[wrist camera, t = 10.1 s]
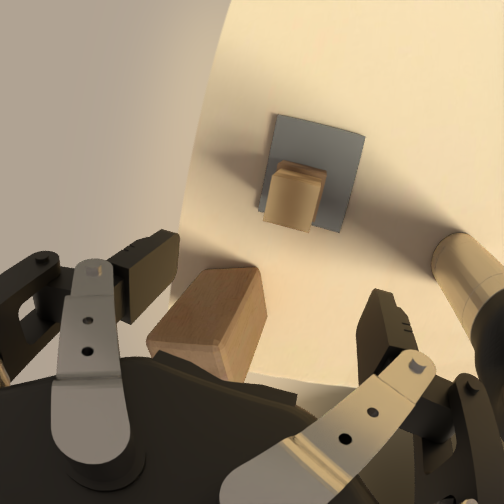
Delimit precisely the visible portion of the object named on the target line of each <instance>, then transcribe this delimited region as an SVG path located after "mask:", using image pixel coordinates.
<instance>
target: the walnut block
mask: <svg viewBox="0 0 504 504" xmlns="http://www.w3.org/2000/svg"><path fill="white" fill-rule="evenodd" d="M279 169H286V170H290V171H294V172H298V173H302V174H306V175H310V176H314V177H318V178H321V188H320V192H319V196H318V200H317V204H316V208H315V211H314V215H313V219H312V222H315V219H316V215H317V211H318V208H319V204H320V200H321V196H322V192H323V188H324V184H325V180H326V177H327V171H326V170H322V169H318V168H314V167H310V166H306V165H303V164H299V163H294V162H290V161H286V160H282V161H281V162H279V163H278V165H277V169H276V172H277V171H278V170H279Z"/></svg>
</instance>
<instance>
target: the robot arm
mask: <svg viewBox="0 0 504 504" xmlns="http://www.w3.org/2000/svg"><path fill="white" fill-rule="evenodd" d="M179 243H180V236H179V234H177V233H173V232H170V231H167V230H163V229H161V230H160V231H158V232H156V233H155V234H153V235H152V236H150V237H146V238H142V239H139V240H136V241H135V242H133V243H132V244H130V245H129V246H127V247H126V248H124V250H121V251H119V252H118V253H117V254H115V255H114V256H112V257H111V258H109V259H108V260H102V259H88V260H84V261H82V262H80V263H78V264H77V266H76V267H75V269H74V268H68V267H62V266H60V260H59V256H58V254H56V253H55V252H51V251H40V252H37V253H34V254H32V255H30V256H28V257H27V258H25V259H24V260H22V261H20V262H19V263H17V264H16V265H14V266H13V267H11V268H9V269H8V270H6V271H5V272H3V273H2V274H1V275H0V504H379V503H378V501H377V500H376V499H375V497H374V496H373V495H372V493H371V492H370V490H369V489H368V488H367V487H366V485H365V483H364V482H363V481H362V479H361V478H360V476H359V475H358V473H359V472H360V471H361V469H363V467H364V466H365V465H366V464H367V463H368V462H369V461H370V460H371V459H372V458H373V457H374V456H375V455H376V453H377V452H378V451H379V450H380V449H381V448H382V447H383V445H384V444H385V443H386V442H387V441H388V440H389V438H390V437H391V436H392V435H393V434H394V432H395V431H396V430H397V429H398V428H400V429H403V430H405V431H407V432H410V433H413V440H414V441H413V442H414V463H415V464H414V465H415V504H504V450H503V446H502V442H501V439H502V440H503V441H504V266H503V265H502V264H501V263H500V262H499V261H498V260H497V259H496V258H495V257H494V256H493V255H491V254H490V253H489V252H488V251H487V250H486V249H485V248H484V247H483V246H482V245H481V244H480V243H478V242H477V241H476V240H475V239H474V238H473V237H471V236H470V235H468V234H465V233H455V234H452V235H449V236H448V237H446V238H445V239H444V240H443V241H441V242H440V244H439V245H438V246H437V248H436V250H435V252H434V254H433V257H432V263H431V267H432V273H433V276H434V277H435V279H436V281H437V282H438V284H439V286H440V287H441V289H442V291H443V293H444V294H445V296H446V298H447V300H448V301H449V303H450V305H451V307H452V308H453V310H454V312H455V314H456V316H457V317H458V319H459V321H460V323H461V325H462V327H463V328H464V330H465V332H466V334H467V336H468V338H469V340H470V342H471V344H472V346H473V348H474V350H475V367H476V371H477V375H478V378H479V379H478V378H476V377H475V376H473V375H471V374H468V373H462V374H459V375H458V376H457V377H456V379H455V380H454V381H453V382H451V381H448V380H446V379H444V378H442V377H439V376H437V375H435V374H436V367H435V365H434V363H433V361H432V360H431V359H430V358H429V357H428V356H426V355H425V354H423V353H422V352H419V350H418V347H417V344H416V340H415V337H414V334H413V333H412V332H413V331H412V328H411V326H410V322H409V319H408V316H407V315H406V314H405V312H404V311H403V310H402V309H401V308H399V307H397V306H396V303H395V300H394V296H393V294H392V293H390V292H387V291H383V290H379V289H376V288H375V289H374V290H373V291H372V293H371V295H370V297H369V299H368V302H367V304H366V306H365V309H364V311H363V313H362V315H361V318H360V320H359V322H358V326H357V330H356V344H357V359H358V380H359V387H358V388H357V389H355V390H354V391H353V392H352V393H351V394H350V395H348V396H347V397H346V398H345V399H343V400H342V401H341V402H340V403H339V404H338V405H336V406H335V407H334V408H332V409H331V410H330V411H328V412H327V413H326V414H325V415H323V416H322V417H321V418H319V419H317V418H316V417H315V416H313V415H312V414H310V413H309V412H308V411H306V410H305V409H303V408H301V407H299V406H297V405H296V400H297V394H295V393H291V392H287V391H283V390H279V389H275V388H272V387H268V386H265V385H259V384H249V383H239V382H231V381H224V380H221V379H219V378H218V377H216V376H214V375H212V374H211V373H209V372H207V371H206V370H204V369H202V368H201V367H199V366H197V365H196V364H194V363H192V362H190V361H188V360H185V359H182V358H180V357H177V356H174V355H172V354H169V353H167V352H164V351H162V350H158V352H157V353H156V354H155V356H154V357H153V358H149V357H124V358H120V351H119V344H118V333H117V322H119V321H120V320H121V321H123V322H125V323H128V324H130V325H131V324H132V323H133V322H134V321H135V320H136V319H137V318H138V317H139V316H140V315H141V314H142V313H143V312H144V311H145V310H146V308H147V307H148V306H149V305H150V304H151V303H152V302H153V301H154V300H155V299H156V298H157V297H158V296H159V295H160V294H161V293H162V292H163V291H164V290H165V289H166V288H167V286H168V285H170V284H171V282H172V281H173V280H174V278H175V275H176V272H177V266H178V254H179ZM31 296H33V300H34V304H35V309H34V310H32V311H31V312H30V313H29V314H28V315H27V316H25V317H24V318H23V319H22V320H21V321H19V317H18V312H19V308H20V306H21V305H22V304H23V303H24V302H25V301H26V300H28V299H29V298H30V297H31ZM59 332H60V337H59V348H58V360H57V374H56V375H55V376H51V377H46V378H42V379H38V380H34V381H29V382H25V383H21V384H16V385H11V386H10V382H12V380H13V379H14V378H15V377H16V376H17V375H18V374H19V373H20V372H21V371H22V370H23V369H24V368H25V366H26V365H27V364H28V363H29V362H30V361H31V360H32V359H33V358H34V357H35V356H36V355H37V354H38V353H39V352H40V351H41V350H42V349H43V348H44V347H45V346H46V345H47V343H49V342H50V341H51V340H52V339H53V337H55V336H56V335H57V334H58V333H59ZM455 433H456V439H457V445H456V449H455V451H454V453H453V449H452V442H451V437H452V435H453V434H455ZM500 437H501V438H500Z"/></svg>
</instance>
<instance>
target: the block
mask: <svg viewBox="0 0 504 504" xmlns="http://www.w3.org/2000/svg"><path fill="white" fill-rule="evenodd" d="M266 319H267V311H266V305H265V299H264V292H263V286H262V280H261V274H260V271H259V269H258V268H255V267H249V268H228V269H207V270H204V271H202V272H201V273H200V274H199V276H198V277H197V278H196V279H195V280H194V281H193V283H192V284H191V285H190V286H189V287H188V288H187V290H186V291H185V292H184V293H183V294H182V295H181V297H180V298H179V299H178V300H177V301H176V302H175V304H174V305H173V306H172V307H171V308H170V310H169V311H168V312H167V313H166V314H165V316H164V317H163V318H162V319H161V320H160V322H159V323H158V324H157V325H156V326H155V327H154V329H153V330H152V331H151V332H150V333H149V335H148V336H147V339H146V345H147V347H148V350H149V352H150V355H151V357H152V358H153V357H154V356H155V354H156V353H157V352H158V350H162V351H164V352H167V353H169V354H172V355H174V356H177V357H180V358H182V359H185V360H188V361H190V362H192V363H194V364H196V365H197V366H199V367H201V368H202V369H204V370H206V371H207V372H209V373H211V374H212V375H214V376H216V377H218V378H219V379H221V380H224V381H231V382H239V383H244V381H245V378H246V375H247V372H248V370H249V367H250V364H251V361H252V359H253V356H254V353H255V350H256V347H257V345H258V342H259V339H260V336H261V333H262V330H263V328H264V325H265V322H266Z"/></svg>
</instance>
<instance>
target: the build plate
mask: <svg viewBox="0 0 504 504" xmlns="http://www.w3.org/2000/svg"><path fill="white" fill-rule="evenodd" d="M364 141H365V136H362V135H359V134H355V133H352V132H348V131H345V130H341V129H337V128H334V127H330V126H326V125H322V124H318V123H314V122H310V121H306V120H301V119H297V118H292V117H288V116H283V115H278V116H277V120H276V125H275V130H274V135H273V140H272V145H271V149H270V154H269V159H268V164H267V169H266V174H265V179H264V183H263V188H262V193H261V198H260V203H259V208H258V211H260V212H264V213H265V208H266V203H267V198H268V194H269V189H270V184H271V179H272V175H273V174H274V173H276V169H277V165H278V163H279V162H281V161H282V160H286V161H290V162H294V163H299V164H303V165H306V166H310V167H314V168H318V169H322V170H326V171H327V177H326V180H325V184H324V188H323V192H322V196H321V200H320V204H319V208H318V211H317V215H316V219H315V222H312V223H311V225H313V226H316V227H320V228H324V229H327V230H331V231H334V232H338V233H340V229H341V226H342V223H343V219H344V216H345V213H346V209H347V206H348V202H349V199H350V195H351V191H352V188H353V184H354V180H355V177H356V173H357V169H358V165H359V161H360V157H361V153H362V149H363V145H364Z"/></svg>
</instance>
